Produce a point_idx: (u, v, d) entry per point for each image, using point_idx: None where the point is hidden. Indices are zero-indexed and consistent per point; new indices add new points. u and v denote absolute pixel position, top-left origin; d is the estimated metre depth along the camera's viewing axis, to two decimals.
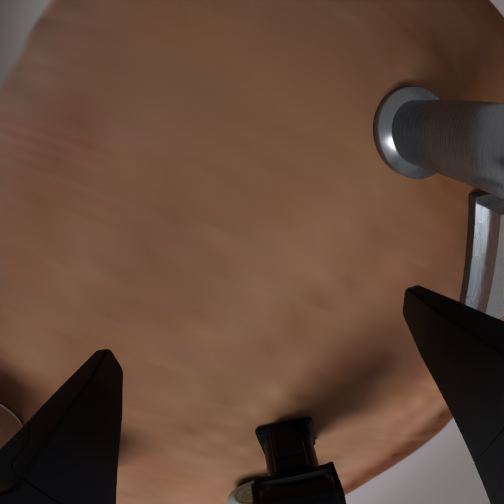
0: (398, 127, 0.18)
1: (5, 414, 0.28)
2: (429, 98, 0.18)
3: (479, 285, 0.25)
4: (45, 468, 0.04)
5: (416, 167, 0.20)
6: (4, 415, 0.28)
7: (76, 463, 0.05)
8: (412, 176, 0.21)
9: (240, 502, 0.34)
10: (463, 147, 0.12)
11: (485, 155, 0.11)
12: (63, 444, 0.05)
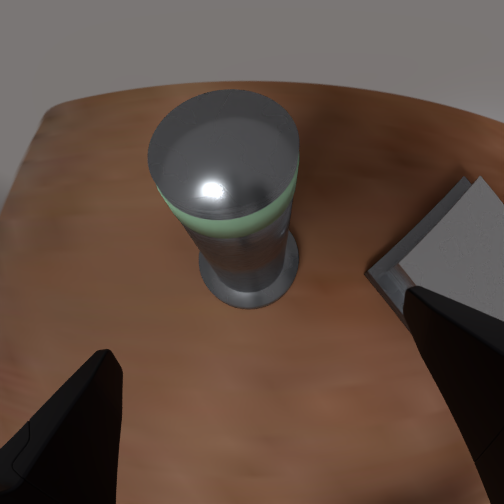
0: None
1: None
2: None
3: None
4: (45, 468, 0.04)
5: (263, 291, 0.21)
6: None
7: (76, 463, 0.05)
8: (264, 302, 0.21)
9: None
10: None
11: None
12: (63, 444, 0.05)
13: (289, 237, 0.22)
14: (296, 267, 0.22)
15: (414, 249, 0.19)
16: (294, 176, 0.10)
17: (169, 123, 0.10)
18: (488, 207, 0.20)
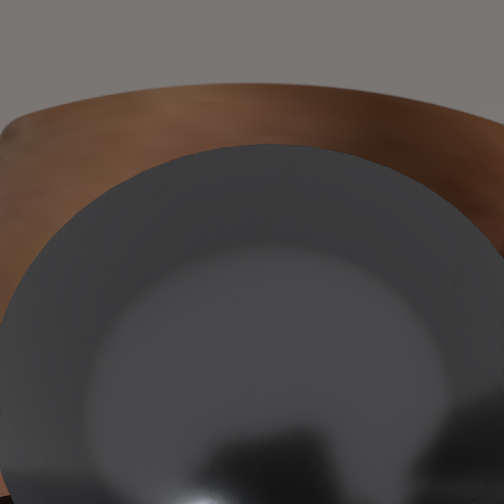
0: None
1: None
2: None
3: None
4: None
5: None
6: None
7: None
8: None
9: None
10: None
11: None
12: None
13: None
14: None
15: None
16: None
17: (29, 330, 0.02)
18: None
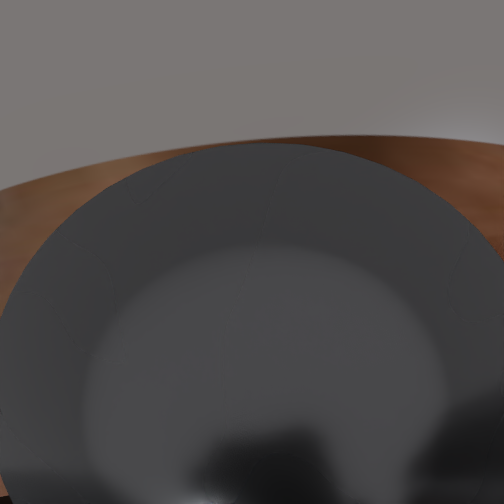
0: None
1: None
2: None
3: None
4: None
5: None
6: None
7: None
8: None
9: None
10: None
11: None
12: None
13: None
14: None
15: None
16: None
17: (26, 328, 0.02)
18: None
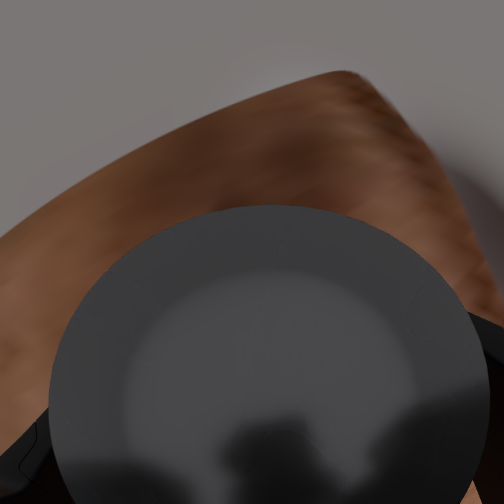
0: None
1: None
2: None
3: None
4: (53, 470, 0.04)
5: None
6: None
7: None
8: None
9: None
10: None
11: None
12: None
13: None
14: None
15: None
16: None
17: (88, 345, 0.03)
18: None
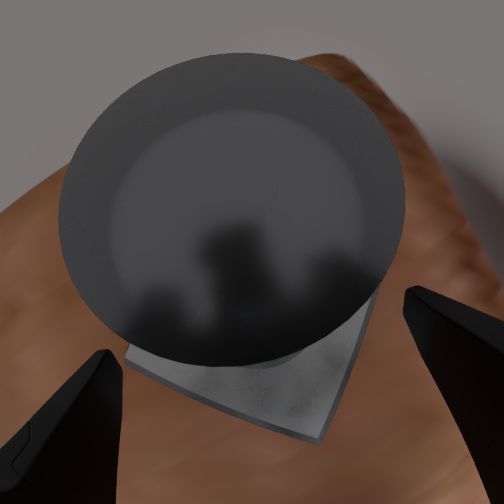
0: None
1: None
2: None
3: None
4: (45, 468, 0.04)
5: None
6: None
7: (76, 463, 0.05)
8: (277, 363, 0.15)
9: None
10: None
11: None
12: (63, 444, 0.05)
13: None
14: None
15: None
16: None
17: (108, 125, 0.04)
18: None
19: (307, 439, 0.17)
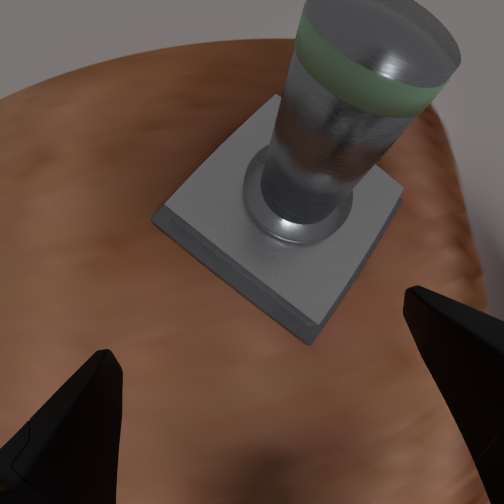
0: (262, 181, 0.18)
1: None
2: None
3: (261, 287, 0.20)
4: (45, 468, 0.04)
5: (308, 226, 0.19)
6: None
7: (76, 463, 0.05)
8: (306, 238, 0.18)
9: None
10: (285, 117, 0.11)
11: (294, 91, 0.10)
12: (63, 444, 0.05)
13: None
14: (347, 214, 0.19)
15: (182, 186, 0.20)
16: (448, 79, 0.07)
17: None
18: None
19: (300, 335, 0.21)
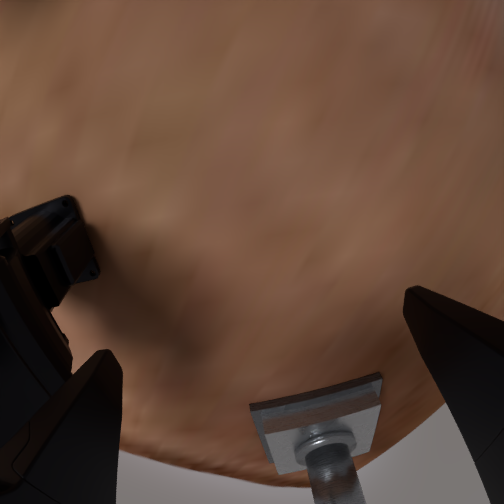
0: (345, 450, 0.27)
1: None
2: None
3: (302, 412, 0.29)
4: (45, 468, 0.04)
5: (309, 451, 0.28)
6: None
7: (76, 463, 0.05)
8: (306, 449, 0.28)
9: None
10: (358, 503, 0.21)
11: None
12: (63, 444, 0.05)
13: None
14: (297, 461, 0.29)
15: (378, 412, 0.28)
16: None
17: None
18: (354, 451, 0.32)
19: (259, 410, 0.29)
